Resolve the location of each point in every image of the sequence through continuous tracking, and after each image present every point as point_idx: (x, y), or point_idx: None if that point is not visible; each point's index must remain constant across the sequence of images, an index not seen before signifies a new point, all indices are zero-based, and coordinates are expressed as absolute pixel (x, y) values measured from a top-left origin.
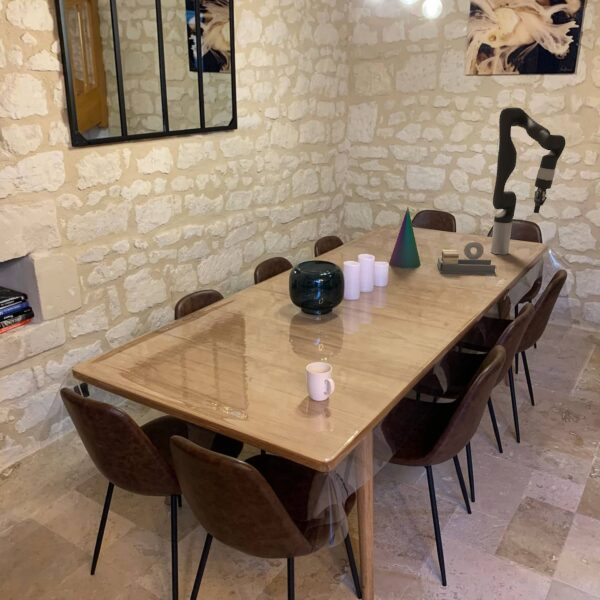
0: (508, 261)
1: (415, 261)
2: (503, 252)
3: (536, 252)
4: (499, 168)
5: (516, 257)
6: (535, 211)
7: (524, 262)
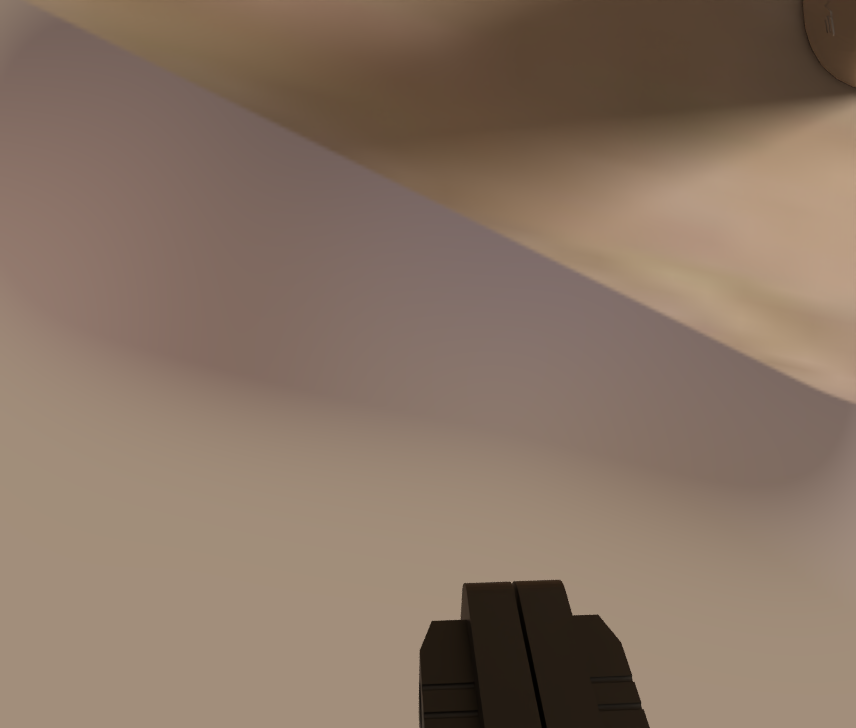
0: (522, 3)
1: None
2: (817, 6)
3: (841, 381)
4: None
5: (684, 142)
6: (439, 632)
7: (486, 184)
